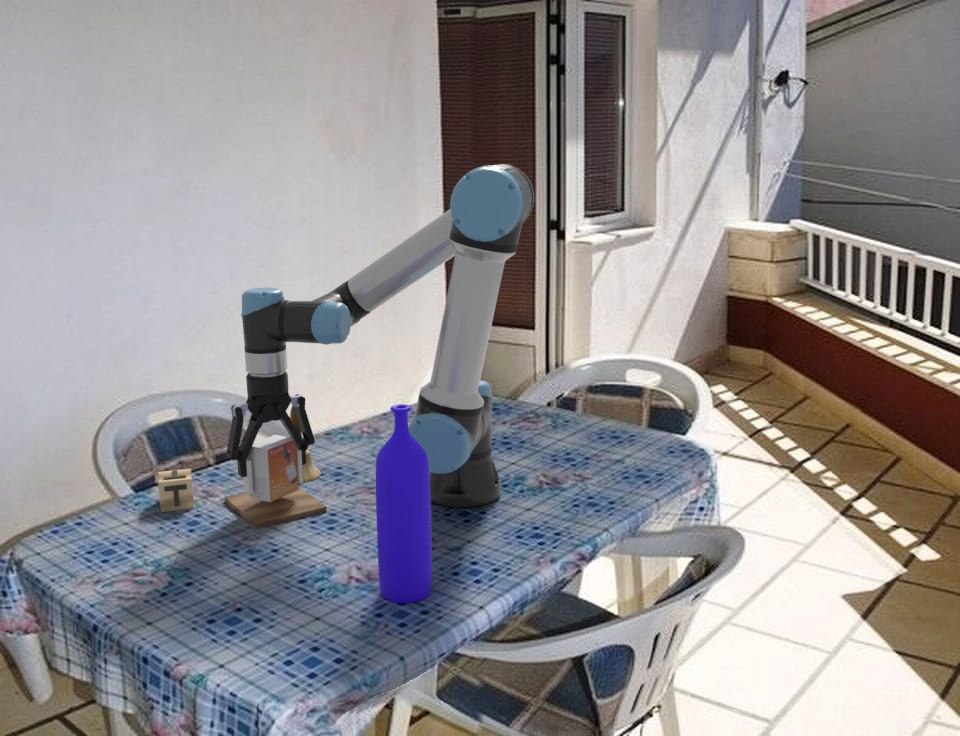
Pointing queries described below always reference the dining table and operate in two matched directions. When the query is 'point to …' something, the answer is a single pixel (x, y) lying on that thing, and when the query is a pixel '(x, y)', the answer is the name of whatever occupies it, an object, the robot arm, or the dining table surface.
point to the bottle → (403, 515)
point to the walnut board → (275, 508)
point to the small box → (273, 468)
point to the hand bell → (308, 469)
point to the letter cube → (175, 490)
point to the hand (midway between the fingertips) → (273, 486)
